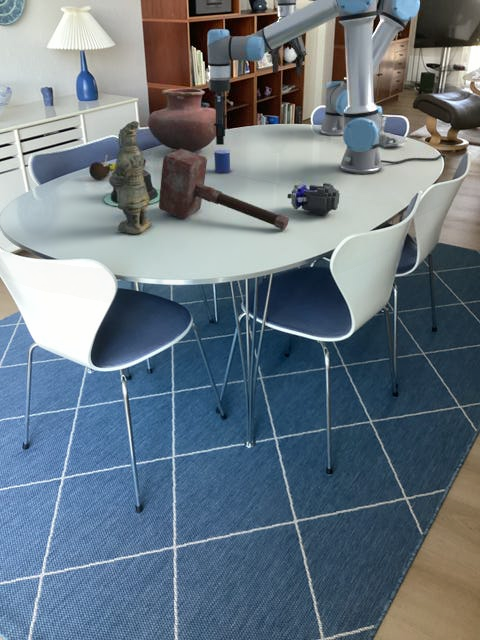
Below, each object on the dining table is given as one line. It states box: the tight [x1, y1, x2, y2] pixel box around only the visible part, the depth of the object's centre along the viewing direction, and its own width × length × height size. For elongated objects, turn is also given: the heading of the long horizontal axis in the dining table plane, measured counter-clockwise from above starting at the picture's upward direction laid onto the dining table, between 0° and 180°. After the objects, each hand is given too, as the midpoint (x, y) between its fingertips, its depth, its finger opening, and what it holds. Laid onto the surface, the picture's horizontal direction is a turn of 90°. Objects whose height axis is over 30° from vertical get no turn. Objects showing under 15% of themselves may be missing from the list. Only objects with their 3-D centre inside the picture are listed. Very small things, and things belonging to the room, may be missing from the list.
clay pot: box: [147, 87, 216, 153], centre depth 235 cm, size 30×30×25 cm
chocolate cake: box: [103, 168, 160, 207], centre depth 186 cm, size 15×19×20 cm
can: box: [213, 149, 231, 174], centre depth 211 cm, size 6×6×8 cm
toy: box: [287, 180, 341, 216], centre depth 168 cm, size 9×9×15 cm
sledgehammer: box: [158, 149, 290, 231], centre depth 163 cm, size 17×10×40 cm
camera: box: [378, 115, 408, 148], centre depth 239 cm, size 9×12×15 cm
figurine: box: [88, 154, 147, 181], centre depth 212 cm, size 13×8×25 cm
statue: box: [108, 120, 153, 235], centre depth 154 cm, size 11×9×30 cm
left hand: (286, 73), depth 239 cm, fingers open, 13 cm apart
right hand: (220, 140), depth 207 cm, fingers open, 13 cm apart
